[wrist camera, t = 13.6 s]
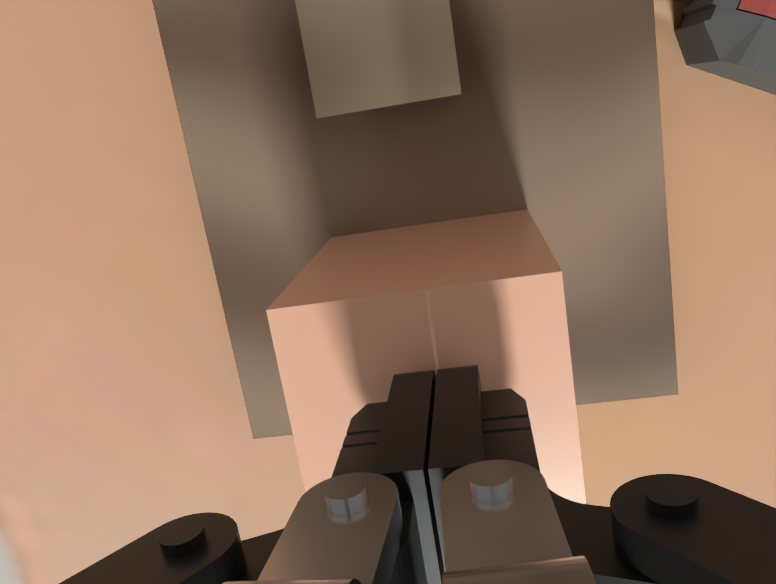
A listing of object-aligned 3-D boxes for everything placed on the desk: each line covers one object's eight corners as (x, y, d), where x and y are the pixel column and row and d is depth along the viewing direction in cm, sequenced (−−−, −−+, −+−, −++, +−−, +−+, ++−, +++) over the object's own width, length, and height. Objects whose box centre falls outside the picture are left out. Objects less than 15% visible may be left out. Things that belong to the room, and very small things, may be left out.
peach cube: (331, 237, 19) (265, 309, 13) (527, 209, 18) (562, 271, 12) (364, 414, 20) (319, 560, 14) (548, 395, 20) (590, 539, 13)
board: (88, -383, 17) (-154, -689, 10) (601, -527, 15) (708, -1003, 9) (267, 416, 22) (183, 555, 16) (663, 373, 21) (759, 508, 14)
